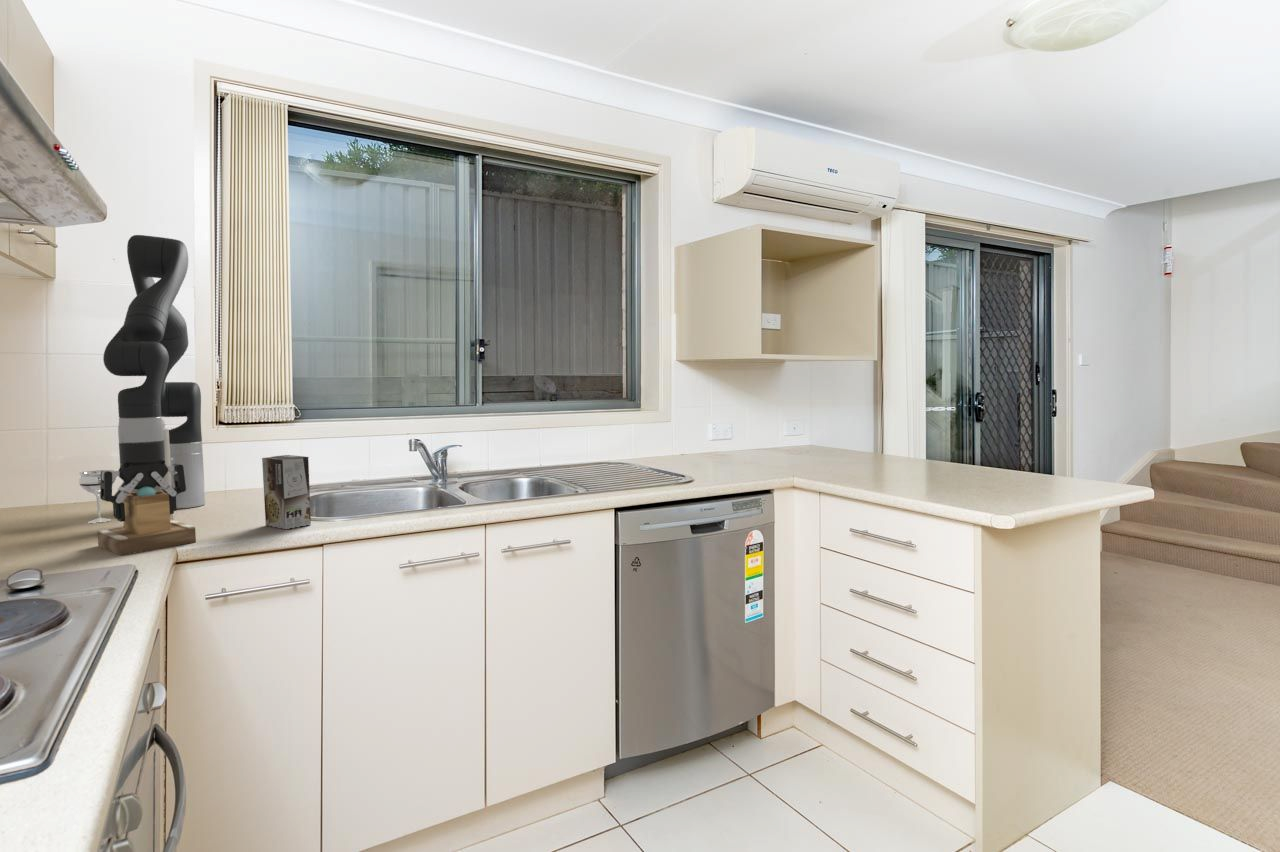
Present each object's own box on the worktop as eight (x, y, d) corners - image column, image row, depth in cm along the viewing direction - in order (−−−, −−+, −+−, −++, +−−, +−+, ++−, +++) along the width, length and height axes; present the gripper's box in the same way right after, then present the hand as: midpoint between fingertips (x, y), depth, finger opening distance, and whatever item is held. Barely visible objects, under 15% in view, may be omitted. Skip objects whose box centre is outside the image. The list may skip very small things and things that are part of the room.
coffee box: (312, 525, 158) (309, 456, 157) (285, 530, 153) (282, 459, 152) (291, 520, 163) (288, 454, 162) (264, 525, 158) (261, 456, 157)
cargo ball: (131, 495, 138) (134, 487, 137) (148, 489, 141) (151, 481, 139) (141, 507, 138) (144, 499, 136) (157, 500, 141) (160, 492, 139)
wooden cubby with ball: (124, 529, 140) (121, 493, 140) (155, 524, 145) (153, 490, 144) (138, 534, 136) (136, 497, 135) (170, 529, 140) (168, 493, 140)
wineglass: (124, 518, 166) (121, 469, 166) (102, 524, 160) (99, 473, 159) (97, 518, 167) (94, 469, 166) (73, 524, 160) (70, 473, 159)
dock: (98, 545, 139) (97, 530, 139) (170, 533, 149) (170, 519, 149) (121, 555, 131) (120, 538, 131) (195, 542, 142) (195, 526, 142)
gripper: (173, 435, 147) (177, 509, 148) (92, 441, 135) (97, 521, 136) (188, 437, 142) (192, 513, 144) (105, 443, 131) (110, 525, 132)
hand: (146, 517), depth 140 cm, fingers open, 8 cm apart
